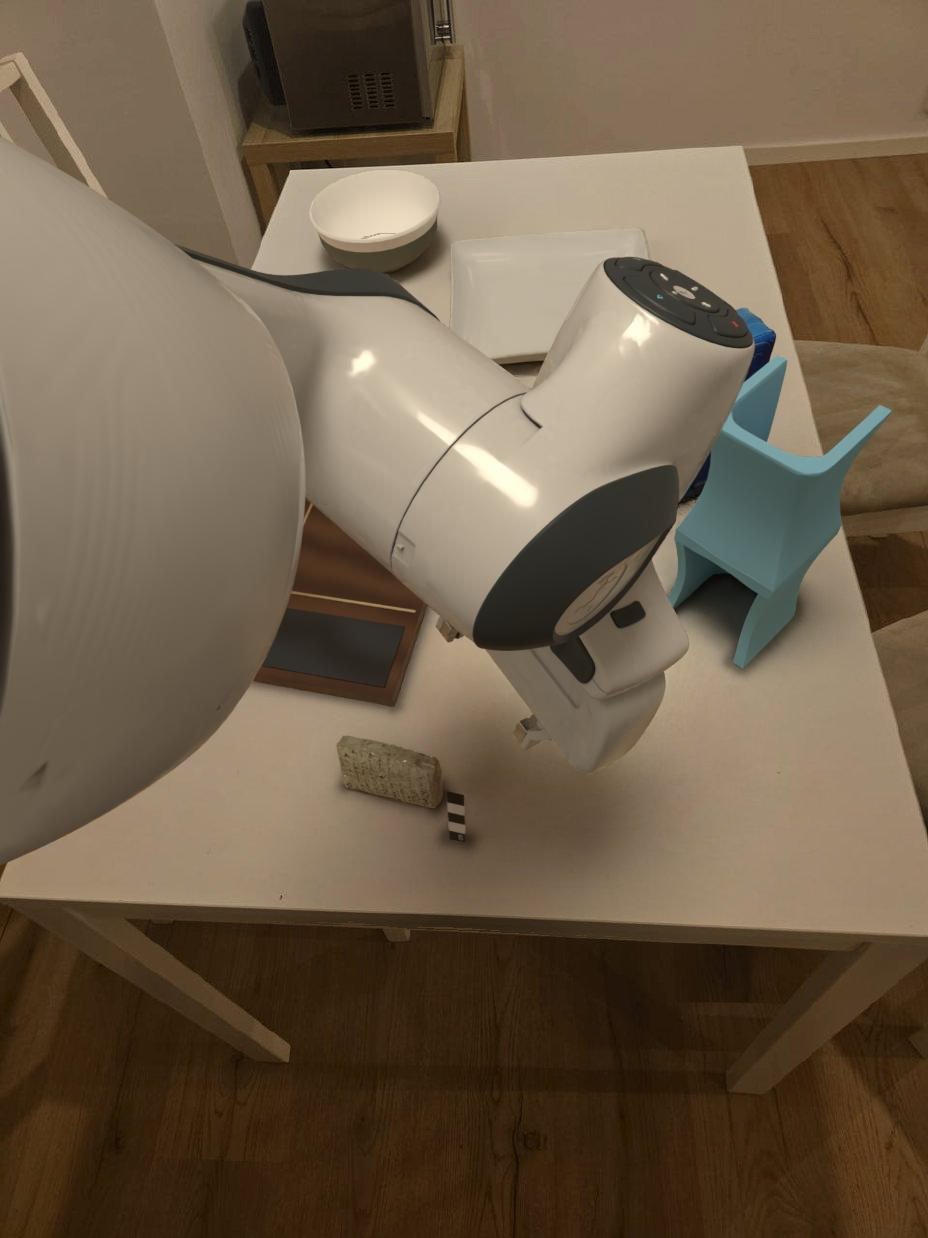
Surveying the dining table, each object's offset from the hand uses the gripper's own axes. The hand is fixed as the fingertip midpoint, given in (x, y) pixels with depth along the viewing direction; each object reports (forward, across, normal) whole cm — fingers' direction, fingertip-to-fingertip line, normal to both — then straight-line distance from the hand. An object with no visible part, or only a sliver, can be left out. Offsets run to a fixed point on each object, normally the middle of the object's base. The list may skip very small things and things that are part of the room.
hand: (487, 683), depth 55 cm
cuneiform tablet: (+21, -2, -1) cm, 21 cm away
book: (+10, -15, +41) cm, 44 cm away
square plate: (+11, -50, +50) cm, 71 cm away
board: (+22, -34, +10) cm, 41 cm away
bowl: (+18, -76, +41) cm, 88 cm away
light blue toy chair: (+10, 0, +34) cm, 35 cm away
